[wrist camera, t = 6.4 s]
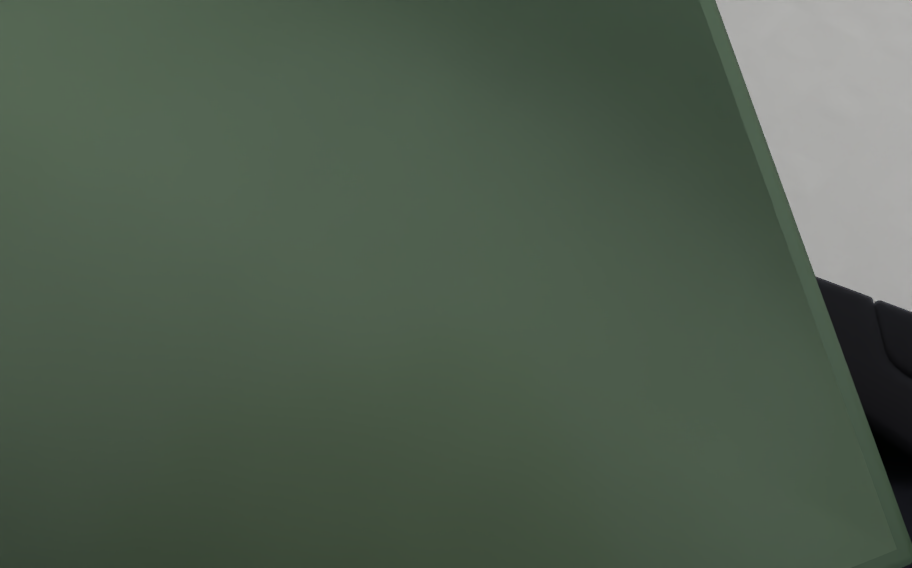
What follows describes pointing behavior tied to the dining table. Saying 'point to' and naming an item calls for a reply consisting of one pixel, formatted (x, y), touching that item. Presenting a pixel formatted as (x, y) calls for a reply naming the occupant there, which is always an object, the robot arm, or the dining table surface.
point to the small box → (410, 295)
